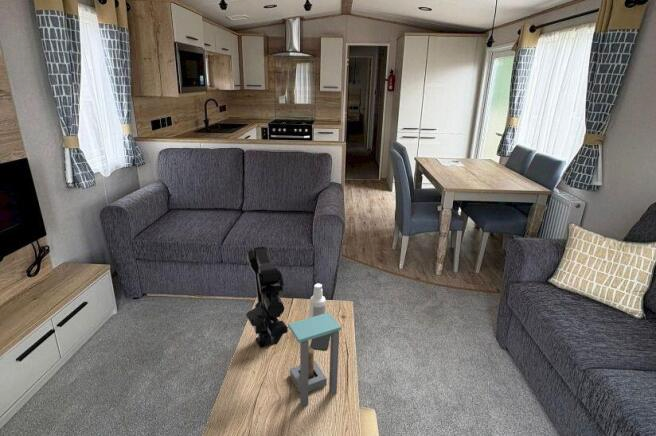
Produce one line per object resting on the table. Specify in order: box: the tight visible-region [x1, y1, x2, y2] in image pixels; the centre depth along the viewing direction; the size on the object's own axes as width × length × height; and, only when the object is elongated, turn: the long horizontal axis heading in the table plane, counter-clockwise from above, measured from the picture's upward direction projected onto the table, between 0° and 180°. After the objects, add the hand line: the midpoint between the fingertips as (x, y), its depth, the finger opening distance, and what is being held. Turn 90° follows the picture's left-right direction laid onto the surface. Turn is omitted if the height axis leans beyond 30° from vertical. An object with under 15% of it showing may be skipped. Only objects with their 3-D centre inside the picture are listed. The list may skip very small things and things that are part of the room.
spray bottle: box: [309, 282, 327, 318], centre depth 169 cm, size 7×7×18 cm
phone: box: [309, 333, 331, 351], centre depth 161 cm, size 7×1×15 cm
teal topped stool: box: [287, 312, 342, 407], centre depth 129 cm, size 10×15×27 cm, turn 118°
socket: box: [289, 359, 328, 393], centre depth 138 cm, size 10×10×3 cm
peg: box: [308, 346, 315, 380], centre depth 136 cm, size 4×4×13 cm
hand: (271, 336), depth 140 cm, fingers open, 9 cm apart
